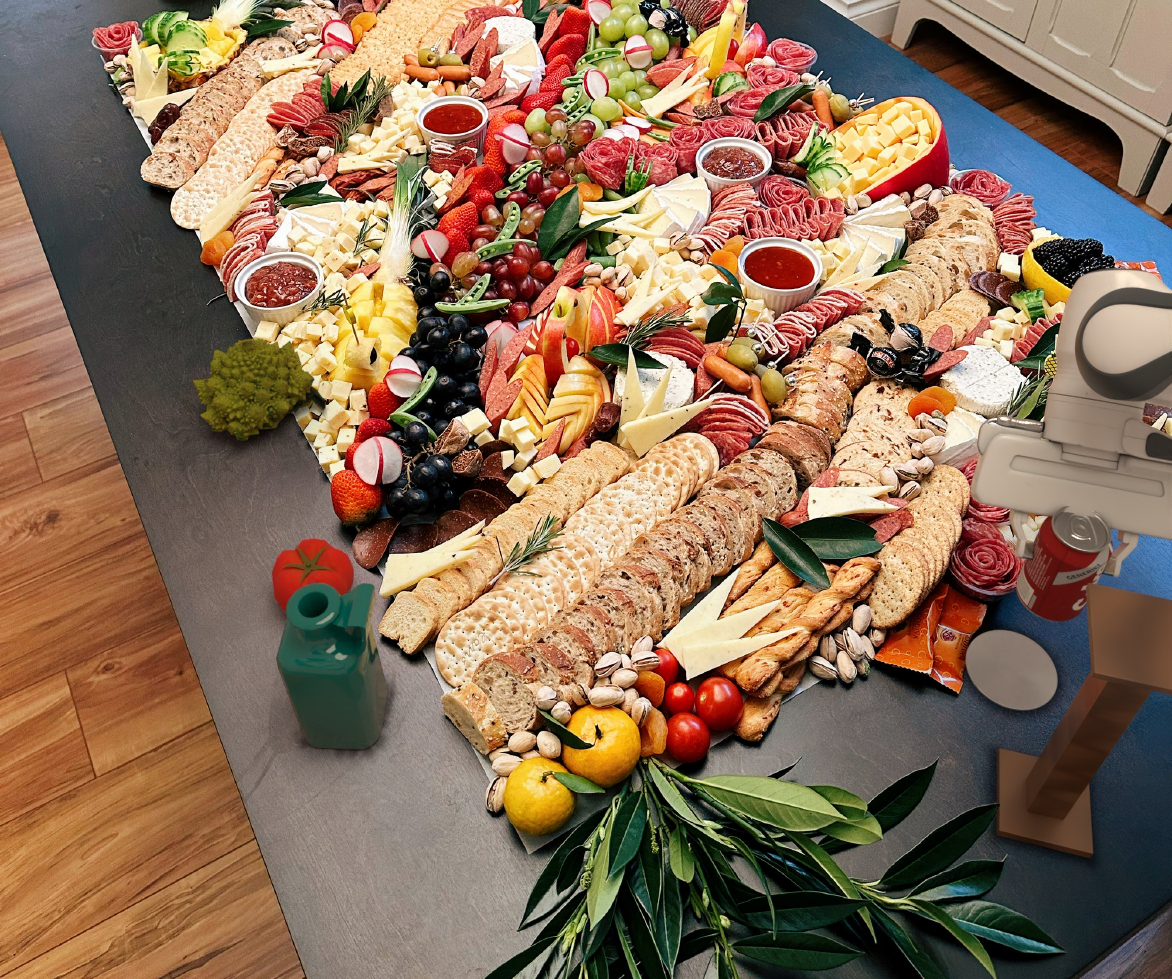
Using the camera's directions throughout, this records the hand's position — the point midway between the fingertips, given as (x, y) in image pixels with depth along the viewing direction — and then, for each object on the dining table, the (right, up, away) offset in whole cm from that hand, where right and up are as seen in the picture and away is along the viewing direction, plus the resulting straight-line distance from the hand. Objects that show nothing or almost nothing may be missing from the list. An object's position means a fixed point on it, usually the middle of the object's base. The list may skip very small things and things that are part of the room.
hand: (1066, 566), depth 112 cm
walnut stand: (-1, -25, +4) cm, 26 cm away
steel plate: (0, -15, +15) cm, 21 cm away
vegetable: (-93, +13, +45) cm, 104 cm away
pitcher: (-74, -19, +12) cm, 77 cm away
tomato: (-80, -8, +23) cm, 83 cm away
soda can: (0, -4, +5) cm, 7 cm away
